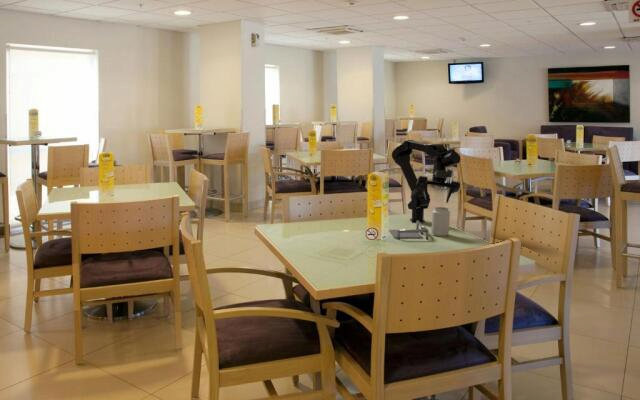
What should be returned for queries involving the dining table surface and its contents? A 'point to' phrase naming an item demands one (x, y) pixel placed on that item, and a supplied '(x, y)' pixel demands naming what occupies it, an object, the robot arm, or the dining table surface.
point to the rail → (415, 230)
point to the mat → (405, 234)
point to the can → (440, 221)
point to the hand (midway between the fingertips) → (436, 201)
